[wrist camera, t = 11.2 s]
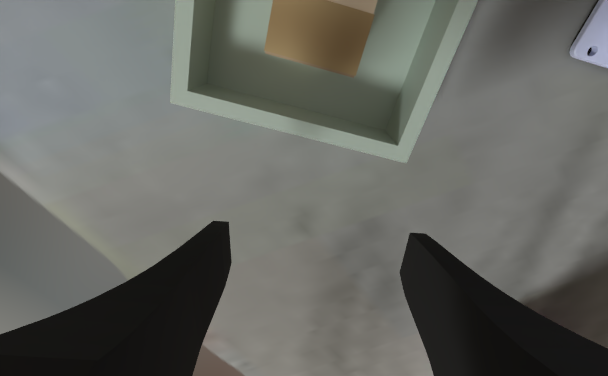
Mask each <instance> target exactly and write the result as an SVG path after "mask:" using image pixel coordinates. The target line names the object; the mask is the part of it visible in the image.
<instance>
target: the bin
mask: <svg viewBox="0 0 608 376" xmlns="http://www.w3.org/2000/svg"><path fill="white" fill-rule="evenodd" d="M477 2H478V0H378V1H377V5H376V8H375V11H374V15H375V16H374V19H373V22H372V25H371V29H370V32H369V35H368V38H367V41H366V45H365V48H364V51H363V54H362V57H361V61H360V64H359V67H358V70H357V73H356V76H354V78H352V77H349V76H345V75H341V74H338V73H334V72H331V71H327V70H323V69H320V68H316V67H313V66H309V65H305V64H302V63H298V62H294V61H291V60H287V59H284V58H280V57H276V56H273V55H269V54H266V53H265V51H264V48H265V42H266V37H267V31H268V25H269V20H270V14H271V8H272V3H273V0H175V16H174V35H173V55H172V75H171V95H170V103H172V104H176V105H180V106H184V107H188V108H192V109H196V110H200V111H204V112H208V113H211V114H215V115H219V116H223V117H227V118H231V119H235V120H239V121H243V122H247V123H251V124H254V125H258V126H262V127H266V128H270V129H274V130H278V131H282V132H286V133H290V134H293V135H297V136H301V137H305V138H309V139H313V140H317V141H321V142H325V143H329V144H333V145H336V146H340V147H344V148H348V149H352V150H356V151H360V152H364V153H368V154H372V155H376V156H379V157H383V158H387V159H391V160H395V161H399V162H403V163H407V161H408V158H409V156H410V154H411V152H412V149H413V147H414V145H415V142H416V140H417V138H418V136H419V133H420V131H421V129H422V127H423V124H424V122H425V120H426V118H427V115H428V113H429V111H430V109H431V106H432V104H433V102H434V99H435V97H436V95H437V93H438V90H439V88H440V86H441V84H442V81H443V79H444V77H445V75H446V72H447V70H448V68H449V66H450V63H451V61H452V59H453V56H454V54H455V52H456V50H457V47H458V45H459V43H460V41H461V38H462V36H463V34H464V32H465V29H466V27H467V25H468V23H469V20H470V18H471V16H472V13H473V11H474V9H475V7H476V4H477Z"/></svg>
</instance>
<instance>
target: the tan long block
mask: <svg viewBox="0 0 608 376" xmlns="http://www.w3.org/2000/svg"><path fill="white" fill-rule="evenodd" d="M377 1H378V0H273V3H272V8H271V14H270V20H269V25H268V31H267V37H266V42H265V48H264V51H265V53H266V54H269V55H273V56H276V57H280V58H284V59H287V60H291V61H294V62H298V63H302V64H305V65H309V66H313V67H316V68H320V69H323V70H327V71H331V72H334V73H338V74H341V75H345V76H349V77H352V78H354V76H356V73H357V70H358V67H359V64H360V61H361V57H362V54H363V51H364V48H365V45H366V41H367V38H368V35H369V32H370V29H371V25H372V22H373V19H374V16H375V15H374V11H375V8H376V5H377Z"/></svg>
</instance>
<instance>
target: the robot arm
mask: <svg viewBox="0 0 608 376" xmlns="http://www.w3.org/2000/svg"><path fill="white" fill-rule="evenodd" d="M590 47H591V48H592V50H591V53H590V54H589V55H587V52H588V50H589V48H590ZM570 55H571V57H573V58H575V59H579V60H582V61H585V62H588V63H592V64H595V65H598V66H601V67H605V68H608V0H599V1H598V3H597V4H596V6H595V8H594V9H593V11H592V13H591V14H590V16H589V18H588V19H587V21H586V23H585V24H584V26H583V28H582V29H581V31H580V33H579V34H578V36H577V38H576V39H575V41H574V43H573V44H572V46H571V48H570ZM230 266H231V249H230V235H229V222H222V221H213V222H211V223H210V224H209V225H207V226H206V227H205V228H204V229H202V230H201V231H200V232H199V233H197V234H196V235H195V236H194V237H192V238H191V239H190V240H188V241H187V242H186V243H185V244H183V245H182V246H181V247H179V248H178V249H177V250H175V251H174V252H172V253H171V254H170V255H168V256H167V257H165V258H164V259H162V260H161V261H159V262H158V263H157V264H155V265H154V266H152V267H150V268H149V269H147V270H146V271H144V272H142V273H141V274H139V275H137V276H135V277H134V278H132V279H130V280H128V281H127V282H125V283H123V284H121V285H119V286H117V287H115V288H113V289H111V290H109V291H107V292H105V293H103V294H101V295H99V296H97V297H95V298H93V299H91V300H89V301H86V302H84V303H82V304H79V305H77V306H75V307H73V308H70V309H68V310H65V311H63V312H61V313H58V314H56V315H53V316H51V317H48V318H46V319H43V320H40V321H37V322H34V323H32V324H29V325H26V326H23V327H20V328H18V329H15V330H12V331H9V332H6V333H3V334H0V376H192V375H193V371H194V368H195V365H196V361H197V357H198V355H199V351H200V348H201V345H202V343H203V340H204V337H205V335H206V332H207V330H208V327H209V325H210V322H211V320H212V318H213V315H214V313H215V310H216V308H217V305H218V303H219V300H220V298H221V295H222V293H223V290H224V288H225V285H226V281H227V278H228V274H229V270H230ZM400 276H401V281H402V285H403V289H404V293H405V297H406V300H407V302H408V305H409V308H410V310H411V313H412V316H413V318H414V321H415V323H416V326H417V329H418V331H419V334H420V336H421V339H422V341H423V344H424V347H425V349H426V352H427V355H428V358H429V361H430V364H431V367H432V371H433V375H434V376H608V349H607V348H605V347H603V346H601V345H599V344H597V343H595V342H592V341H590V340H588V339H586V338H584V337H582V336H580V335H578V334H576V333H574V332H572V331H570V330H568V329H566V328H564V327H562V326H560V325H558V324H557V323H555V322H553V321H551V320H549V319H547V318H545V317H544V316H542V315H540V314H538V313H536V312H535V311H533V310H531V309H530V308H528V307H526V306H524V305H523V304H521V303H520V302H518V301H516V300H515V299H513V298H512V297H510V296H508V295H507V294H505V293H504V292H502V291H501V290H499V289H498V288H496V287H495V286H493V285H492V284H491V283H489V282H488V281H486V280H485V279H484V278H482V277H481V276H479V275H478V274H477V273H475V272H474V271H473V270H471V269H470V268H469V267H467V266H466V265H465V264H464V263H462V262H461V261H460V260H458V259H457V258H456V257H455V256H453V255H452V254H451V253H450V252H448V251H447V250H446V249H445V248H443V247H442V246H441V245H440V244H438V243H437V242H436V241H435V240H433V239H432V238H431V237H429V236H428V235H427V234H421V233H410V235H409V239H408V243H407V246H406V250H405V254H404V258H403V262H402V266H401V270H400Z"/></svg>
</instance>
